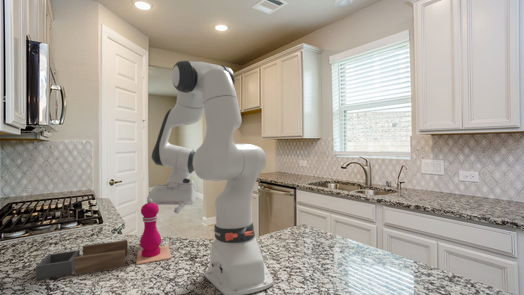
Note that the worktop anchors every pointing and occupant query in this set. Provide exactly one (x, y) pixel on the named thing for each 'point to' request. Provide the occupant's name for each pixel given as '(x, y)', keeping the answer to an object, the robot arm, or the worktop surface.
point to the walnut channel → (101, 257)
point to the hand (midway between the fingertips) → (165, 212)
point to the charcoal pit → (56, 265)
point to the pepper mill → (150, 230)
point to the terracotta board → (162, 256)
